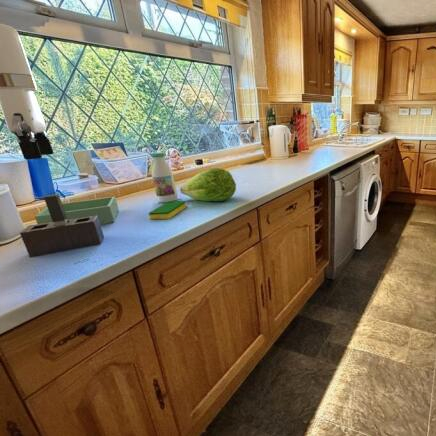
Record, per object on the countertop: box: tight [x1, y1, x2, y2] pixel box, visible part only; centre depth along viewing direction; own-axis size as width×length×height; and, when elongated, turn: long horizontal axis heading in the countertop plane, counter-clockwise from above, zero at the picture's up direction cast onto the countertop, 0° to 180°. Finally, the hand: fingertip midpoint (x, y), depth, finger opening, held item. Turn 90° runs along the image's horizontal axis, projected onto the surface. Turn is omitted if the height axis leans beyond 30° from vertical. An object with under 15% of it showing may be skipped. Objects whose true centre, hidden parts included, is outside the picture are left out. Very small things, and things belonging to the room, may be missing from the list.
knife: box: [43, 193, 68, 226], centre depth 83 cm, size 3×2×15 cm
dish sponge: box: [148, 200, 187, 220], centre depth 111 cm, size 7×14×2 cm, turn 0°
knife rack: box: [19, 215, 105, 258], centre depth 84 cm, size 16×6×7 cm, turn 118°
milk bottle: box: [151, 151, 179, 203], centre depth 125 cm, size 8×8×20 cm
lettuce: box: [179, 167, 237, 202], centre depth 124 cm, size 15×24×14 cm, turn 73°
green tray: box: [34, 196, 120, 225], centre depth 105 cm, size 20×15×6 cm
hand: (40, 156), depth 77 cm, fingers open, 9 cm apart
